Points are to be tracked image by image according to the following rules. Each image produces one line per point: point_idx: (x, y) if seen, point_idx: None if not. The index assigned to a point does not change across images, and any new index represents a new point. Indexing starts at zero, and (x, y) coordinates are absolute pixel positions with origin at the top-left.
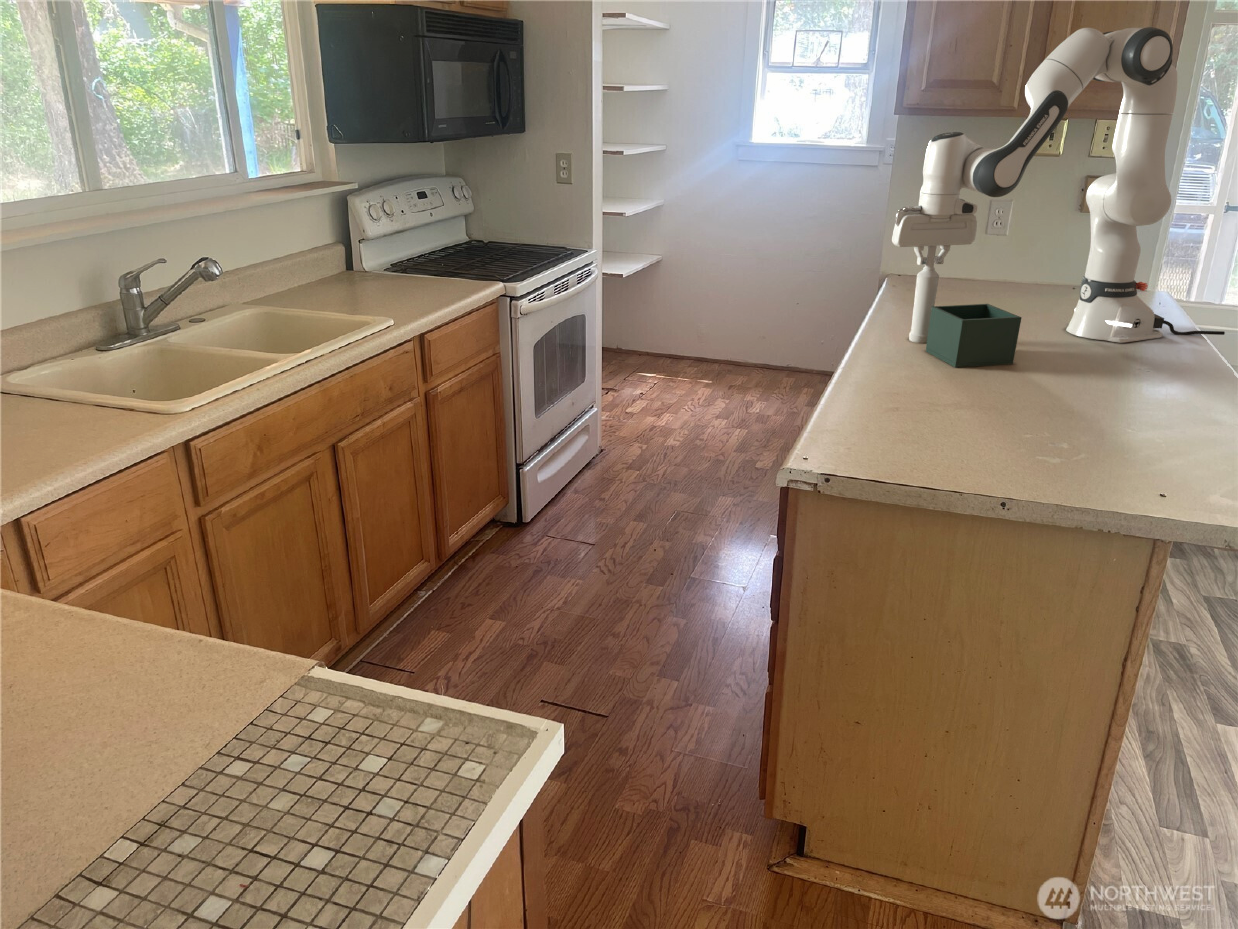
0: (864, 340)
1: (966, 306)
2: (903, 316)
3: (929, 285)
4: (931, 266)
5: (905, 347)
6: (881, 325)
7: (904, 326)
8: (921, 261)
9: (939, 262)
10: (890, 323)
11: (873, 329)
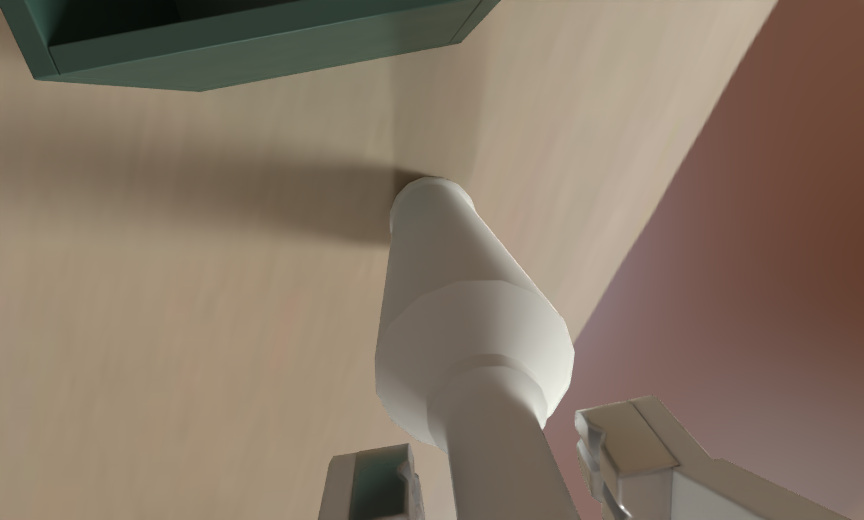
0: (642, 217)
1: (224, 16)
2: None
3: (475, 251)
4: (489, 396)
5: (523, 110)
6: None
7: None
8: (665, 419)
9: (387, 454)
10: None
11: None
